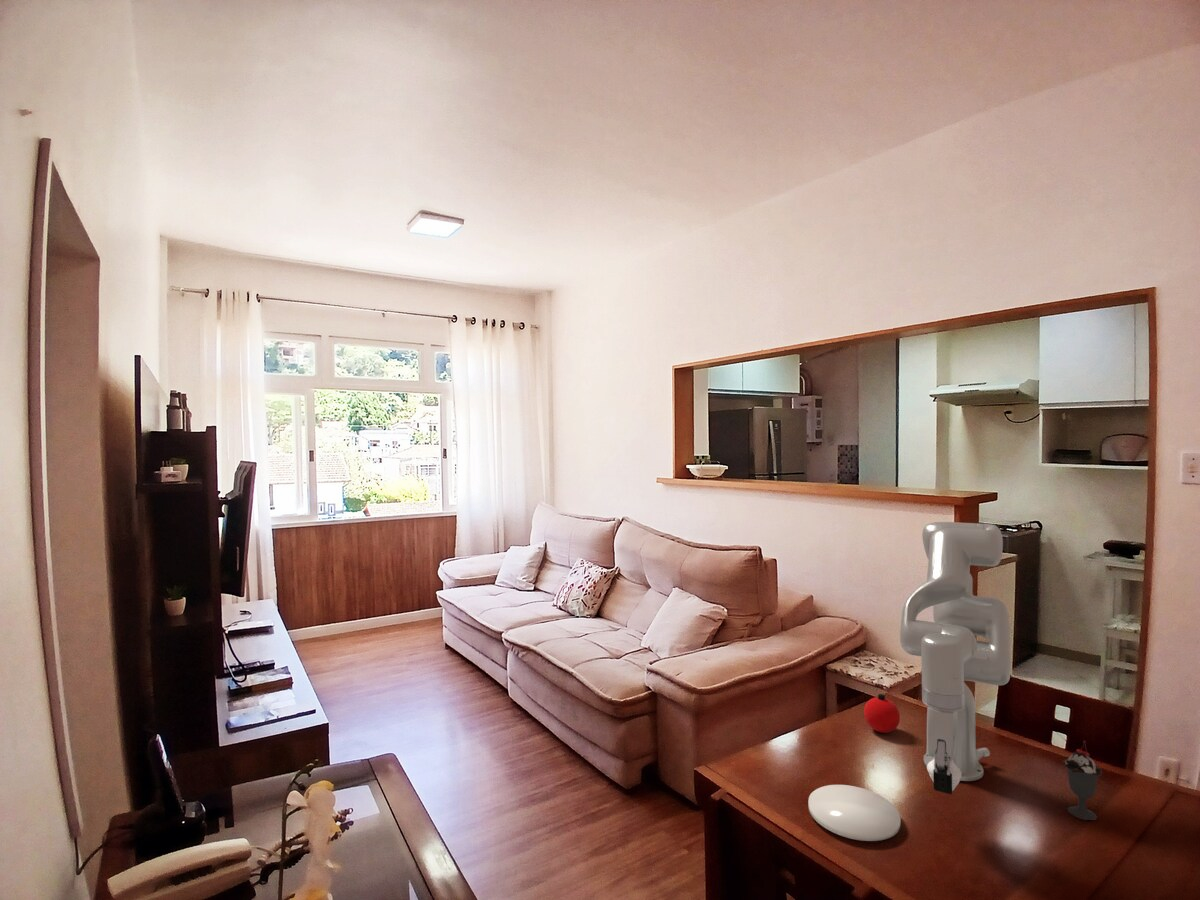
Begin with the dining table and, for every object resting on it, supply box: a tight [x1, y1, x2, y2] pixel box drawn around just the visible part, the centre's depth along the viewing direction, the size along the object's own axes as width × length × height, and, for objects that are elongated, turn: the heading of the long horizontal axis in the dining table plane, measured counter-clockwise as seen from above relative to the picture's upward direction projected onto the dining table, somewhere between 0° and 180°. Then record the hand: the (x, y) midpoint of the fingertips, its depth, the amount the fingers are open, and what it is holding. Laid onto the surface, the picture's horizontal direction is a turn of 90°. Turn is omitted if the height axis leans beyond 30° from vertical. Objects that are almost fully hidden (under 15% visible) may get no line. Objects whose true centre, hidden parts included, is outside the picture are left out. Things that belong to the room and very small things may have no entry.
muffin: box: [926, 754, 962, 792], centre depth 125 cm, size 6×6×7 cm
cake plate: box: [807, 784, 901, 842], centre depth 130 cm, size 18×18×2 cm
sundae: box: [1062, 740, 1103, 821], centre depth 130 cm, size 7×7×15 cm
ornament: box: [863, 693, 901, 734], centre depth 168 cm, size 9×9×10 cm
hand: (944, 781), depth 125 cm, fingers closed on muffin, 6 cm apart
